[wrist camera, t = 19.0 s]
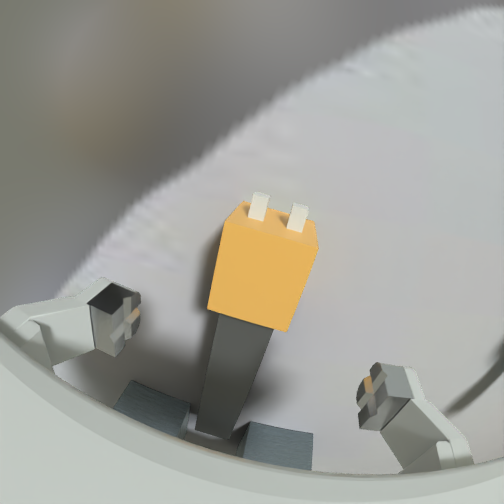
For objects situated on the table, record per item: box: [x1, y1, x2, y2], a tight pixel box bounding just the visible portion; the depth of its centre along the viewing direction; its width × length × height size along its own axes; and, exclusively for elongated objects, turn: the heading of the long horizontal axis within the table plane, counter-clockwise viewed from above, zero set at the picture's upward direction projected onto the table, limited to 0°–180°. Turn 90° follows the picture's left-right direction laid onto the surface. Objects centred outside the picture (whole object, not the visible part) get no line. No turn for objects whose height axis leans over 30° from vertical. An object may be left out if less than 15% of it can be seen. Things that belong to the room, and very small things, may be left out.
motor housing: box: [113, 380, 313, 471], centre depth 22 cm, size 7×20×10 cm, turn 77°
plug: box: [195, 192, 319, 440], centre depth 18 cm, size 21×4×4 cm, turn 166°
